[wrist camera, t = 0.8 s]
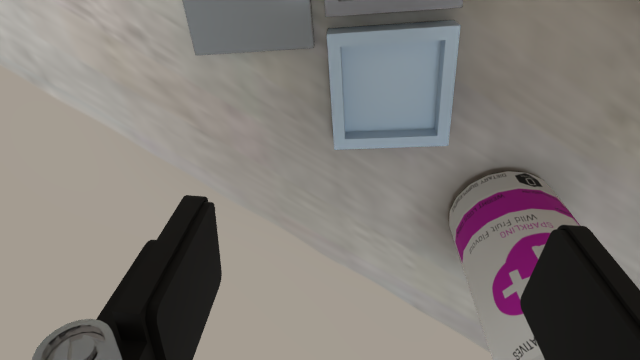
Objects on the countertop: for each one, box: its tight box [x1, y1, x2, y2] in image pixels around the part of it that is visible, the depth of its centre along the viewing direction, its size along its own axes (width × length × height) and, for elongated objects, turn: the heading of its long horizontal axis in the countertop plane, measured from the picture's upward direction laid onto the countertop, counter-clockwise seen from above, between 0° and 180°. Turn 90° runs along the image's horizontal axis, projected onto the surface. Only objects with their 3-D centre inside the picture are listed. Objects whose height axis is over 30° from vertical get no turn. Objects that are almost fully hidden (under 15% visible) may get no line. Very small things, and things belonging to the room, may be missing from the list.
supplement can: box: [449, 171, 580, 360], centre depth 26 cm, size 8×8×15 cm
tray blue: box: [327, 20, 461, 150], centre depth 27 cm, size 8×8×2 cm
